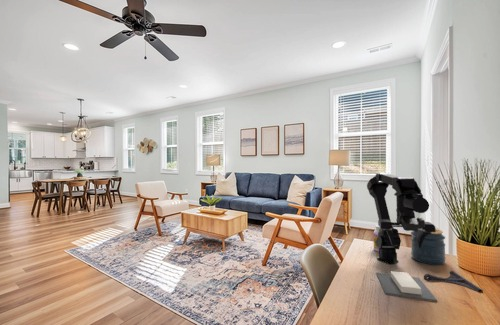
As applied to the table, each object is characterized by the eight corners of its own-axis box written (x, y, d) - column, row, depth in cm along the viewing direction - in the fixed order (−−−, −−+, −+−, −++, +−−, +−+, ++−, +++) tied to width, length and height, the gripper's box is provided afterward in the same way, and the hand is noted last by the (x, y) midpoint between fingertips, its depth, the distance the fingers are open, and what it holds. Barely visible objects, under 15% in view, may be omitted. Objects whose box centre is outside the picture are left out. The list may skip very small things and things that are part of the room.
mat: (376, 273, 96) (376, 272, 96) (419, 279, 91) (418, 277, 91) (385, 294, 81) (385, 292, 81) (437, 301, 76) (437, 300, 76)
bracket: (414, 272, 98) (414, 266, 98) (454, 274, 95) (454, 268, 95) (436, 291, 84) (435, 283, 84) (483, 294, 81) (483, 286, 81)
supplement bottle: (370, 249, 124) (370, 225, 124) (379, 247, 126) (379, 223, 126) (382, 253, 117) (381, 228, 118) (391, 251, 120) (390, 226, 120)
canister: (428, 266, 102) (427, 226, 102) (404, 255, 115) (403, 220, 115) (453, 264, 104) (452, 225, 104) (427, 253, 117) (426, 218, 117)
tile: (390, 271, 92) (401, 286, 80) (407, 272, 90) (421, 288, 78) (390, 276, 92) (401, 293, 80) (407, 278, 90) (421, 295, 78)
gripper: (383, 210, 89) (384, 251, 89) (442, 213, 83) (443, 256, 83) (377, 205, 100) (378, 242, 99) (429, 207, 94) (430, 246, 93)
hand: (405, 246), depth 93 cm, fingers open, 9 cm apart
